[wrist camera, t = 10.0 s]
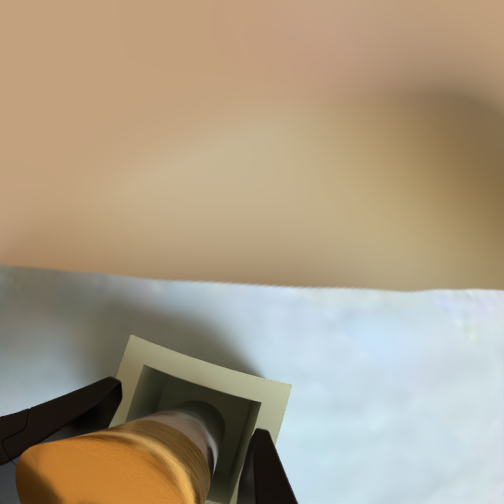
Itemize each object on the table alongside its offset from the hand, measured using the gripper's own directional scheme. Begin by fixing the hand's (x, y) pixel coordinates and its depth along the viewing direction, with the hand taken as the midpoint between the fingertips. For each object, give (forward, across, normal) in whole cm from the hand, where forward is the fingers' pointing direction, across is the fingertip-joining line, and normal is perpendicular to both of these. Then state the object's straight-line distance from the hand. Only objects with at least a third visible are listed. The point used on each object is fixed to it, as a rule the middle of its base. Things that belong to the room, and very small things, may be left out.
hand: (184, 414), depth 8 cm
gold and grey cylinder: (+4, 0, +6) cm, 7 cm away
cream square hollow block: (+5, 0, +7) cm, 8 cm away
